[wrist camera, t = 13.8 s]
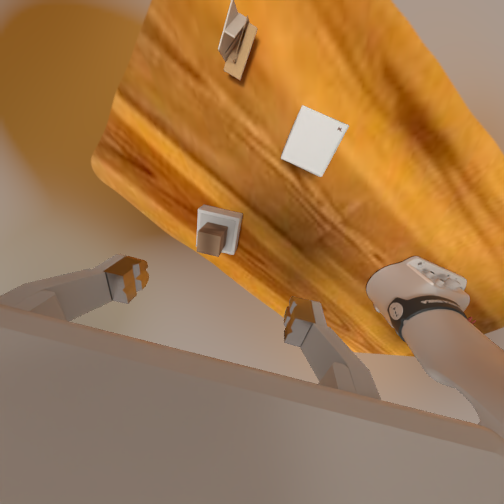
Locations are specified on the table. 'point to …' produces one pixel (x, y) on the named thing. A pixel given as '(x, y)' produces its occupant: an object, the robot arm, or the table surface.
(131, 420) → the robot arm
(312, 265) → the table surface
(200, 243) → the walnut block
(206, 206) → the plinth
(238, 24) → the architectural model
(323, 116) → the supplement box
